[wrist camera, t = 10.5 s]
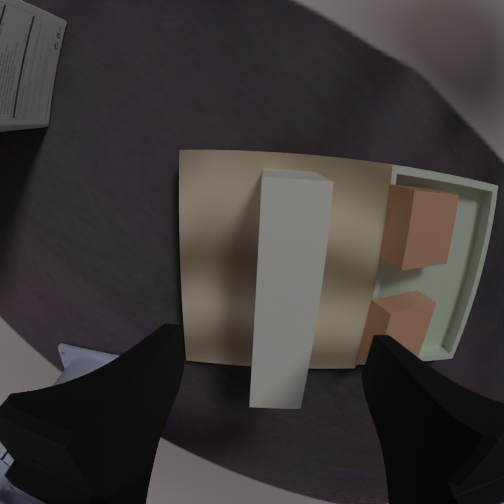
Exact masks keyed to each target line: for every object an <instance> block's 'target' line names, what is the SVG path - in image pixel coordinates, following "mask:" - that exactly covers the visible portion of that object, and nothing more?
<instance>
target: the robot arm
mask: <svg viewBox="0 0 504 504" xmlns="http://www.w3.org/2000/svg"><path fill="white" fill-rule="evenodd" d="M58 350H59V353H60V356H61V359H62V362H63V365H64V368H65V370H64V372H63V373H62V374H61V376H60V377H59V378H58V379H57V381H56V382H55V383H54V385H53V386H51V387H47V388H43V389H39V390H33V391H27V392H21V393H13V394H10V395H9V396H8V398H7V399H6V400H5V401H4V403H3V404H2V405H1V406H0V504H146V498H147V492H148V487H149V482H150V477H151V472H152V468H153V463H154V459H155V455H156V451H157V447H158V443H159V440H160V437H161V434H162V431H163V429H164V426H165V424H166V421H167V419H168V416H169V414H170V411H171V409H172V406H173V404H174V401H175V399H176V396H177V393H178V391H179V387H180V383H181V379H182V375H183V371H184V360H183V349H182V336H181V325H174V324H164V325H162V326H161V327H159V328H158V329H157V330H155V331H154V332H153V333H152V334H150V335H149V336H148V337H146V338H145V339H144V340H142V341H141V342H139V343H138V344H137V345H135V346H134V347H133V348H131V349H130V350H128V351H127V352H125V353H123V354H122V355H120V356H119V355H114V354H108V353H103V352H98V351H93V350H89V349H84V348H80V347H75V346H71V345H67V344H63V343H61V344H59V346H58ZM362 382H363V388H364V393H365V398H366V401H367V404H368V407H369V410H370V413H371V416H372V419H373V422H374V425H375V428H376V431H377V434H378V437H379V440H380V444H381V448H382V452H383V458H384V464H385V470H386V478H387V486H388V499H389V504H504V403H501V402H498V401H495V400H492V399H489V398H487V397H484V396H482V395H479V394H477V393H475V392H472V391H470V390H468V389H466V388H464V387H462V386H461V385H459V384H457V383H455V382H453V381H452V380H450V379H448V378H447V377H445V376H443V375H442V374H441V373H439V372H438V371H436V370H435V369H433V368H432V367H430V366H429V365H428V364H426V363H425V362H424V361H422V360H421V359H420V358H418V357H417V356H416V355H414V354H413V353H412V352H411V351H409V350H408V349H407V348H405V347H404V346H403V345H402V344H400V343H399V342H398V341H396V340H395V339H394V338H392V337H391V336H389V335H373V339H372V342H371V346H370V349H369V353H368V356H367V359H366V363H365V366H364V369H363V372H362Z"/></svg>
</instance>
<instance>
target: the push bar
mask: <svg viewBox="0 0 504 504" xmlns="http://www.w3.org/2000/svg"><path fill="white" fill-rule="evenodd" d="M332 193H333V181H331V180H329V179H327V178H325V177H323V176H321V175H319V174H317V173H315V172H304V171H291V170H276V169H263V174H262V185H261V205H260V225H259V244H258V263H257V282H256V300H255V319H254V336H253V354H252V372H251V389H250V406H249V407H259V408H285V409H300V407H301V403H302V398H303V393H304V388H305V383H306V378H307V373H308V368H309V362H310V357H311V351H312V345H313V340H314V334H315V328H316V322H317V315H318V309H319V302H320V295H321V289H322V281H323V274H324V266H325V259H326V250H327V242H328V233H329V224H330V214H331V204H332Z"/></svg>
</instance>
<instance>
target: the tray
mask: <svg viewBox="0 0 504 504" xmlns="http://www.w3.org/2000/svg"><path fill="white" fill-rule="evenodd" d="M391 165H392V164H391ZM391 184H393V185H403V186H413V187H422V188H430V189H437V190H441V191H445V192H449V193H452V194H456V195H459V197H458V204H457V211H456V217H455V223H454V228H453V234H452V239H451V244H450V249H449V254H448V258H447V263H446V264H441V265H434V266H428V267H422V268H415V269H408V270H400V269H398V268H396V267H394V266H392V265H390V264H389V263H387V262H385V261H383V260H381V259H380V263H379V268H378V274H377V279H376V284H375V289H374V294H373V298H372V300H373V299H378V298H383V297H388V296H393V295H398V294H403V293H408V292H412V291H419V292H421V293H422V294H424V295H425V296H427V297H429V298H430V299H432V300H434V301H435V302H436V305H435V308H434V311H433V315H432V318H431V321H430V324H429V327H428V330H427V333H426V336H425V339H424V342H423V345H422V348H421V350H420V353H419V356H417V357H418V358H420V359H421V360H422V361H432V360H442V359H451V358H453V355H454V353H455V350H456V348H457V345H458V343H459V340H460V338H461V335H462V332H463V330H464V327H465V324H466V321H467V318H468V316H469V313H470V310H471V307H472V303H473V300H474V297H475V294H476V290H477V287H478V283H479V280H480V276H481V273H482V269H483V265H484V261H485V257H486V252H487V248H488V243H489V239H490V234H491V229H492V223H493V217H494V211H495V205H496V198H497V191H498V186H496V185H493V184H489V183H485V182H481V181H476V180H472V179H467V178H463V177H458V176H453V175H449V174H444V173H438V172H433V171H428V170H422V169H417V168H411V167H405V166H398V165H393V166H392V177H391ZM356 365H365V364H364V363H363V362H362V361H361V360H360V359H359V358H358V359H357V363H356Z"/></svg>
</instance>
